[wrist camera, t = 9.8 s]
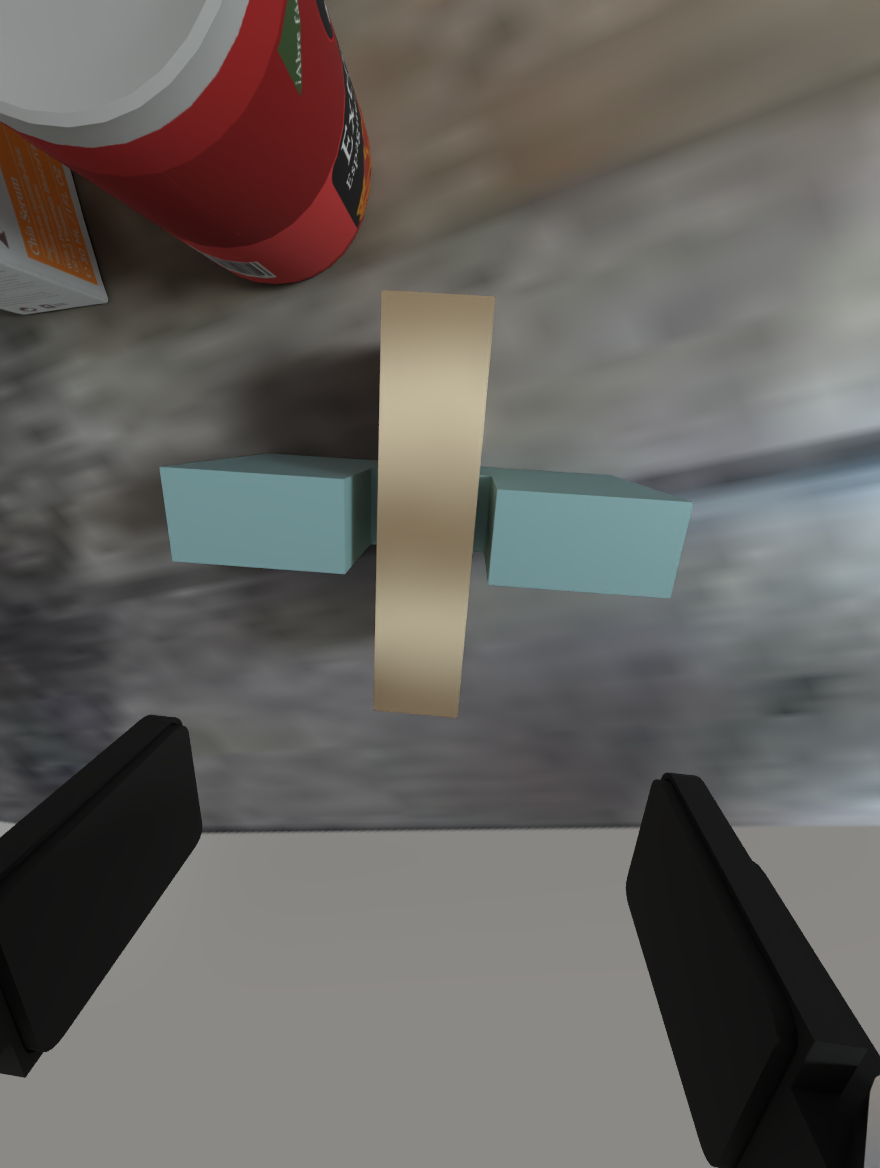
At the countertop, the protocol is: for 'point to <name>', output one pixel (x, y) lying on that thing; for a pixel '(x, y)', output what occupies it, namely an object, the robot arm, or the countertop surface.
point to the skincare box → (42, 234)
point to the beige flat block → (427, 493)
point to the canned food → (199, 120)
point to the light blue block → (502, 529)
